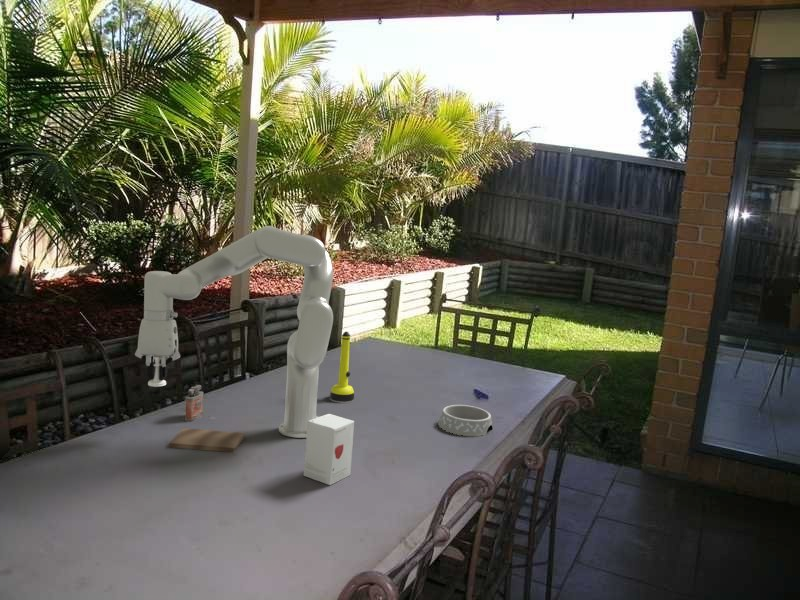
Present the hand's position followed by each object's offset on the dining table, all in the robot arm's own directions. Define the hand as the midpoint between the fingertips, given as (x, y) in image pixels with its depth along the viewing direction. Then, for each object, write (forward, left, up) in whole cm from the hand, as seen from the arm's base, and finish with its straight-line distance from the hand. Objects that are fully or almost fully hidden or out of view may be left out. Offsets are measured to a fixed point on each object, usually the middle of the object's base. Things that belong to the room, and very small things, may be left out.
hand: (157, 378), depth 183 cm
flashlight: (-50, -48, -17) cm, 71 cm away
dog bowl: (-93, -28, -17) cm, 98 cm away
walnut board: (-16, +2, -17) cm, 23 cm away
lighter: (-6, -17, -17) cm, 25 cm away
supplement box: (-52, +19, -17) cm, 58 cm away
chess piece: (0, 0, -2) cm, 2 cm away
